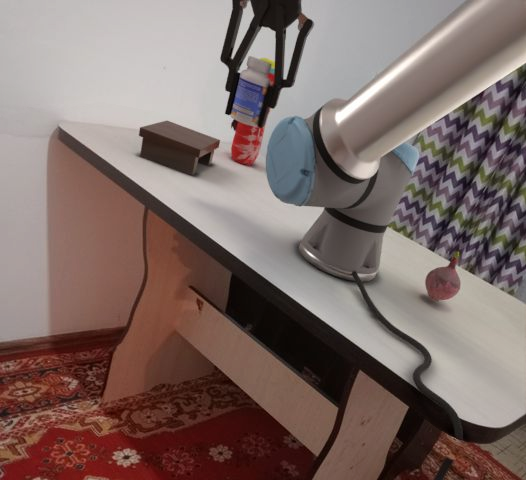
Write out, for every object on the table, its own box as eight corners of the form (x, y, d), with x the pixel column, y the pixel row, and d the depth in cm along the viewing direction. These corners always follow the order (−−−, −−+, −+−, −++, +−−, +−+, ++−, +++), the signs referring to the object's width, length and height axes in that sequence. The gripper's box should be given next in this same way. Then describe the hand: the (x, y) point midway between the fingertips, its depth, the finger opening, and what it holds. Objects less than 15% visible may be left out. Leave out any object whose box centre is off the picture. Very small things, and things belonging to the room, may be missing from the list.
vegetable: (423, 289, 89) (450, 242, 83) (452, 305, 86) (481, 258, 81) (411, 296, 84) (439, 246, 79) (442, 313, 82) (472, 263, 76)
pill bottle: (258, 129, 80) (276, 67, 75) (228, 118, 79) (244, 55, 74) (259, 123, 85) (276, 64, 79) (231, 114, 84) (245, 53, 78)
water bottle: (215, 150, 128) (238, 47, 115) (237, 153, 134) (262, 55, 120) (239, 166, 122) (268, 60, 108) (262, 169, 127) (292, 67, 113)
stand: (194, 177, 103) (200, 149, 99) (135, 155, 103) (139, 127, 99) (214, 164, 116) (220, 140, 113) (162, 145, 116) (166, 120, 113)
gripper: (345, -18, 72) (295, 135, 85) (236, -60, 72) (202, 100, 85) (343, -25, 66) (290, 141, 79) (223, -72, 66) (189, 103, 79)
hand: (244, 119), depth 82 cm, fingers closed on pill bottle, 5 cm apart
